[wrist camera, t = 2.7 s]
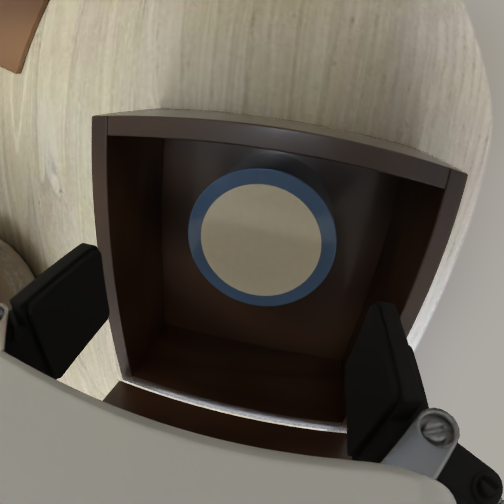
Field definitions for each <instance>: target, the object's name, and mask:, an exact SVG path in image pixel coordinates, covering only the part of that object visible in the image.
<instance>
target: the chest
mask: <svg viewBox="0 0 504 504" xmlns="http://www.w3.org/2000/svg"><path fill="white" fill-rule="evenodd" d="M263 153H277V154H284V155H288V156H291V157H294V158H296V159H298V160H300V161H302V162H304V163H305V164H307V165H308V166H309V167H311V168H312V169H313V170H314V171H315V172H316V173H317V174H318V175H319V177H320V178H321V179H322V180H323V182H324V184H325V185H326V187H327V190H328V192H329V195H330V198H331V202H332V208H333V214H334V220H335V227H336V235H337V249H336V255H335V259H334V262H333V265H332V267H331V269H330V271H329V273H328V275H327V276H326V277H325V279H324V280H323V282H322V283H321V284H320V285H319V286H318V287H317V288H316V289H315V290H313V291H312V292H311V293H309V294H308V295H306V296H305V297H303V298H301V299H299V300H297V301H294V302H291V303H288V304H284V305H278V306H257V305H250V304H247V303H243V302H240V301H237V300H235V299H233V298H231V297H229V296H227V295H225V294H224V293H222V292H221V291H219V290H218V289H217V288H215V287H214V286H213V285H212V284H211V283H210V282H209V281H208V280H207V279H206V278H205V277H204V275H203V274H202V273H201V272H200V270H199V268H198V267H197V265H196V263H195V261H194V259H193V256H192V254H191V250H190V247H189V240H188V224H189V218H190V214H191V211H192V209H193V206H194V204H195V202H196V201H197V199H198V197H199V196H200V194H201V193H202V192H203V191H204V190H205V188H207V187H208V186H209V185H210V184H211V183H212V182H213V181H215V180H216V179H217V178H218V177H220V176H221V175H222V174H224V173H225V172H226V171H228V170H229V169H230V168H231V167H233V166H234V165H235V164H237V163H239V162H240V161H242V160H244V159H246V158H248V157H251V156H254V155H257V154H263ZM467 177H468V175H467V173H465V172H463V171H461V170H459V169H457V168H455V167H453V166H452V165H450V164H448V163H446V162H444V161H442V160H439V159H437V158H435V157H433V156H431V155H429V154H427V153H425V152H423V151H420V150H418V149H416V148H412V147H409V146H405V145H402V144H398V143H394V142H391V141H387V140H383V139H379V138H375V137H371V136H367V135H362V134H358V133H354V132H349V131H345V130H340V129H335V128H330V127H325V126H320V125H314V124H309V123H303V122H297V121H291V120H284V119H277V118H270V117H263V116H255V115H246V114H237V113H227V112H216V111H202V110H186V109H161V108H160V109H147V110H137V111H127V112H119V113H111V114H103V115H96V116H93V117H92V181H93V200H94V214H95V226H96V236H97V246H98V250H99V251H100V252H101V255H102V263H103V271H104V278H105V285H106V292H107V298H108V304H109V310H110V313H109V322H110V327H111V332H112V336H113V341H114V345H115V350H116V354H117V358H118V362H119V366H120V370H121V374H122V378H123V380H125V381H128V382H131V383H134V384H136V385H139V386H142V387H145V388H148V389H151V390H154V391H157V392H160V393H163V394H166V395H169V396H172V397H176V398H179V399H182V400H186V401H189V402H193V403H196V404H200V405H203V406H207V407H211V408H215V409H219V410H223V411H227V412H231V413H236V414H240V415H245V416H249V417H254V418H259V419H264V420H270V421H275V422H281V423H287V424H293V425H299V426H306V427H313V428H321V429H330V430H342V431H347V415H346V389H345V366H346V363H347V361H348V358H349V356H350V354H351V351H352V349H353V347H354V344H355V342H356V340H357V337H358V335H359V332H360V330H361V327H362V325H363V322H364V320H365V317H366V315H367V312H368V310H369V307H370V306H371V305H375V304H376V303H377V302H378V301H381V302H387V303H393V304H395V306H396V308H397V311H398V314H399V317H400V320H401V323H402V326H403V329H404V332H405V336H406V338H407V336H408V334H409V332H410V330H411V328H412V326H413V324H414V321H415V319H416V317H417V315H418V313H419V311H420V309H421V307H422V304H423V302H424V300H425V298H426V295H427V293H428V291H429V288H430V286H431V284H432V281H433V279H434V276H435V274H436V271H437V269H438V266H439V264H440V261H441V259H442V256H443V253H444V251H445V248H446V245H447V242H448V239H449V237H450V234H451V231H452V228H453V225H454V222H455V218H456V215H457V212H458V209H459V206H460V202H461V199H462V195H463V192H464V188H465V184H466V180H467Z"/></svg>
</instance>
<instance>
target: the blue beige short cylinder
mask: <svg viewBox="0 0 504 504" xmlns="http://www.w3.org/2000/svg"><path fill="white" fill-rule="evenodd" d="M188 240H189V247H190V250H191V254H192V256H193V259H194V261H195V263H196V265H197V267H198V268H199V270H200V272H201V273H202V274H203V275H204V277H205V278H206V279H207V280H208V281H209V282H210V283H211V284H212V285H213V286H214V287H215V288H217V289H218V290H219V291H221V292H222V293H224V294H225V295H227V296H229V297H231V298H233V299H235V300H237V301H240V302H243V303H247V304H250V305H257V306H278V305H284V304H288V303H291V302H294V301H297V300H299V299H301V298H303V297H305V296H306V295H308V294H309V293H311V292H312V291H313V290H315V289H316V288H317V287H318V286H319V285H320V284H321V283H322V282H323V280H324V279H325V277H326V276H327V275H328V273H329V271H330V269H331V267H332V265H333V262H334V259H335V255H336V249H337V235H336V227H335V220H334V214H333V208H332V202H331V198H330V195H329V192H328V190H327V187H326V185H325V184H324V182H323V180H322V179H321V178H320V177H319V175H318V174H317V173H316V172H315V171H314V170H313V169H312V168H311V167H309V166H308V165H307V164H305V163H304V162H302V161H300V160H298V159H296V158H294V157H291V156H288V155H284V154H277V153H263V154H257V155H254V156H251V157H248V158H246V159H244V160H242V161H240V162H239V163H237V164H235V165H234V166H233V167H231V168H230V169H229V170H228V171H226V172H225V173H224V174H222V175H221V176H220V177H218V178H217V179H216V180H215V181H213V182H212V183H211V184H210V185H209V186H208V187H207V188H205V190H204V191H203V192H202V193H201V194H200V196H199V197H198V199H197V201H196V202H195V204H194V206H193V209H192V211H191V214H190V218H189V224H188Z"/></svg>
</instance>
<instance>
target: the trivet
mask: <svg viewBox="0 0 504 504" xmlns="http://www.w3.org/2000/svg"><path fill="white" fill-rule="evenodd" d="M48 2H49V0H0V67H3V68H5V69H7V70H9V71H11V72H13V73H15V74H19V73H21V70H22V67H23V64H24V61H25V58H26V55H27V52H28V49H29V46H30V44H31V41H32V39H33V36H34V33H35V31H36V28H37V26H38V24H39V21H40V19H41V17H42V14H43V12H44V10H45V8H46V6H47V4H48Z"/></svg>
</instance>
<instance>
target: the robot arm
mask: <svg viewBox="0 0 504 504" xmlns="http://www.w3.org/2000/svg"><path fill="white" fill-rule="evenodd" d="M9 301H10V304H11V307H12V309H11V310H10V311H9V310H8V308H7V306H6V305H5V304H3V303H0V504H504V500H502V498H501V496H502V491H503V486H502V481H501V479H500V477H499V475H498V474H497V473H496V472H495V471H494V470H493V469H491V468H490V467H489V466H487V465H486V464H485V463H483V462H482V461H481V460H479V459H478V458H477V457H475V456H474V455H473V454H472V453H470V452H469V451H468V450H466V449H465V448H464V447H462V446H461V445H460V444H458V443H457V442H458V439H459V436H460V435H459V427H458V424H457V423H456V421H455V419H454V418H453V417H452V416H451V415H450V414H449V413H447V412H446V411H444V410H442V409H437V408H429V407H428V403H427V399H426V395H425V392H424V387H423V384H422V380H421V376H420V373H419V369H418V366H417V363H416V359H415V356H414V352H413V350H412V348H411V347H410V346H409V345H408V342H407V339H406V336H405V332H404V329H403V326H402V323H401V320H400V317H399V314H398V311H397V308H396V306H395V304H393V303H387V302H381V301H378V302H377V303H376V304H375V305H371V306H370V307H369V310H368V312H367V315H366V317H365V320H364V322H363V325H362V327H361V330H360V332H359V335H358V337H357V340H356V342H355V344H354V347H353V349H352V351H351V354H350V356H349V358H348V361H347V363H346V366H345V389H346V415H347V454H348V456H352V460H346V459H336V458H325V457H316V456H308V455H301V454H294V453H288V452H281V451H275V450H269V449H263V448H258V447H252V446H247V445H242V444H238V443H233V442H229V441H224V440H220V439H216V438H212V437H208V436H204V435H200V434H197V433H193V432H190V431H186V430H183V429H179V428H176V427H173V426H169V425H166V424H163V423H160V422H157V421H154V420H151V419H148V418H145V417H142V416H139V415H137V414H134V413H131V412H129V411H126V410H123V409H121V408H118V407H116V406H113V405H111V404H108V403H106V402H103V401H101V400H98V399H96V398H94V397H92V396H89V395H87V394H85V393H83V392H80V391H78V390H76V389H74V388H72V387H70V386H67V385H65V384H63V383H61V382H59V381H57V380H56V379H57V378H61V377H62V376H63V374H64V373H65V372H66V370H67V369H68V368H69V366H70V365H71V364H72V363H73V361H74V360H75V359H76V358H77V356H78V355H79V354H80V353H81V351H82V350H83V349H84V348H85V346H86V345H87V344H88V343H89V341H90V340H91V339H92V338H93V336H94V335H95V334H96V333H97V332H98V330H99V329H100V328H101V327H102V325H103V324H104V323H105V322H106V321H107V319H108V317H109V313H110V310H109V304H108V298H107V292H106V285H105V278H104V271H103V263H102V255H101V252H100V251H99V250H98V248H97V247H96V246H94V245H89V244H85V243H82V244H80V245H79V246H77V247H76V248H74V249H73V250H72V251H70V252H69V253H68V254H66V255H65V256H64V257H62V258H61V259H60V260H58V261H57V262H56V263H55V264H53V265H52V266H51V267H49V268H48V269H47V270H46V271H44V272H43V273H42V274H41V275H39V276H38V277H37V278H36V279H34V280H33V281H32V282H31V283H29V284H28V285H27V286H26V287H24V288H23V289H22V290H21V291H20V292H18V293H17V294H16V295H15V296H14V297H13V298H11V299H10V300H9Z"/></svg>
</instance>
